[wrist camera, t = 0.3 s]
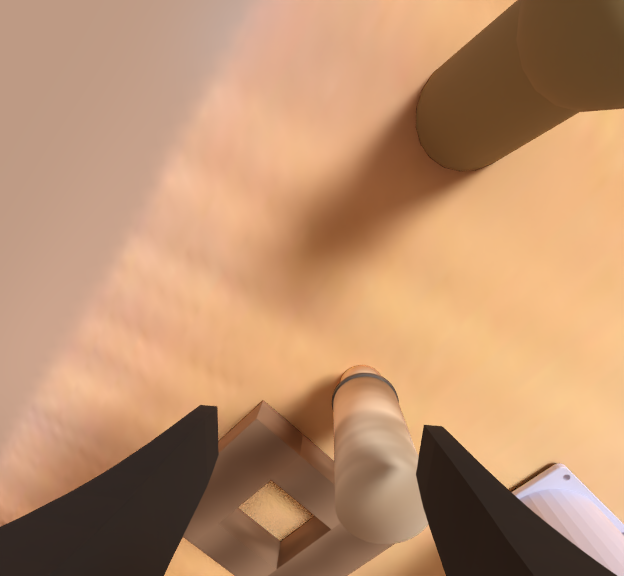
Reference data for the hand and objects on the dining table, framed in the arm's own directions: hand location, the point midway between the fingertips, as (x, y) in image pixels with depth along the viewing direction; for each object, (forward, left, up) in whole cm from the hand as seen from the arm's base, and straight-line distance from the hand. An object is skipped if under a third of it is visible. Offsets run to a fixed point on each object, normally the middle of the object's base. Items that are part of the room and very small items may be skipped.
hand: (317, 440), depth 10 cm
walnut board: (-8, +13, -10) cm, 18 cm away
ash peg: (-5, +1, -10) cm, 11 cm away
